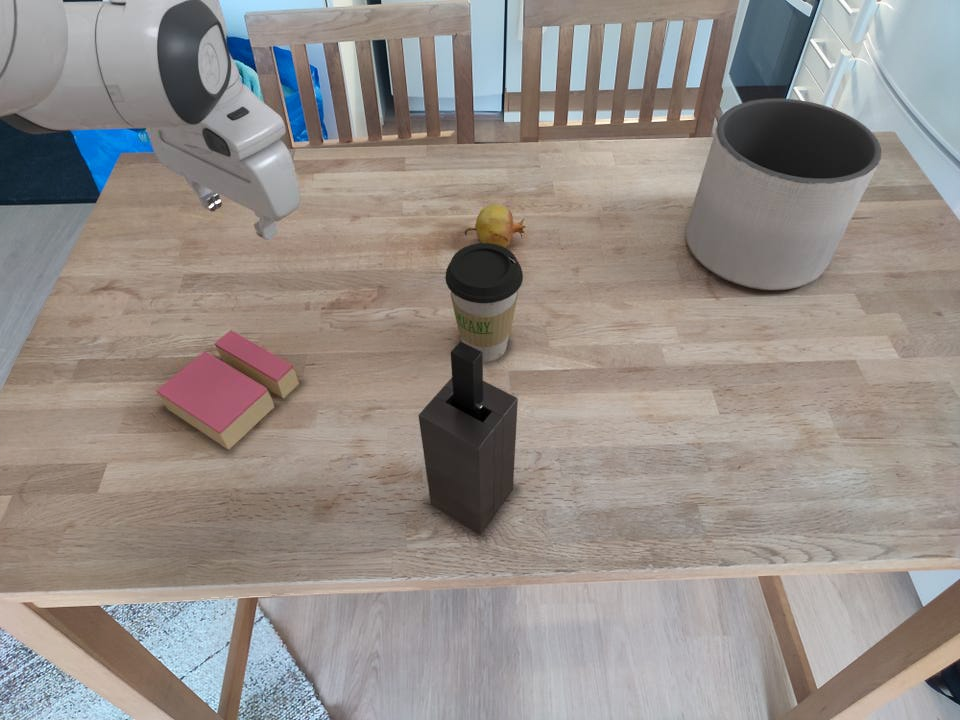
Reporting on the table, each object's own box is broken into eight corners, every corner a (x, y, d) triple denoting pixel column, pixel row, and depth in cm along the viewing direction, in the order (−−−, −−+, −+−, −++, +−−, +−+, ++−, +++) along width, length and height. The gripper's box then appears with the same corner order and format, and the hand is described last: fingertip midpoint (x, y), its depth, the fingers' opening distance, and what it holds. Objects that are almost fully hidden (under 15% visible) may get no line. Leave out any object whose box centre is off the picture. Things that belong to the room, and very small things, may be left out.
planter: (690, 291, 100) (726, 178, 85) (677, 204, 114) (706, 93, 99) (841, 301, 98) (906, 187, 83) (809, 211, 112) (859, 99, 97)
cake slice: (283, 398, 87) (276, 379, 84) (223, 362, 92) (214, 343, 89) (299, 383, 89) (292, 364, 86) (239, 349, 93) (230, 329, 90)
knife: (479, 505, 76) (475, 364, 57) (457, 492, 77) (447, 350, 58) (486, 494, 77) (485, 353, 58) (465, 482, 78) (457, 339, 59)
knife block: (480, 536, 74) (478, 448, 61) (430, 505, 77) (418, 415, 63) (513, 490, 78) (518, 398, 64) (464, 462, 81) (459, 368, 67)
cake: (228, 450, 82) (218, 431, 79) (167, 409, 86) (155, 390, 83) (274, 406, 86) (267, 388, 83) (214, 370, 91) (204, 350, 88)
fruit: (461, 229, 101) (527, 230, 100) (464, 194, 104) (527, 194, 104) (464, 256, 107) (526, 256, 107) (466, 222, 110) (526, 222, 110)
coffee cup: (443, 327, 96) (437, 246, 84) (508, 315, 97) (511, 234, 86) (458, 378, 89) (453, 298, 78) (527, 364, 91) (533, 284, 79)
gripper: (112, 92, 69) (160, 204, 79) (246, 152, 61) (280, 267, 71) (163, 69, 72) (203, 179, 82) (295, 123, 64) (321, 238, 74)
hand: (239, 221), depth 77 cm, fingers open, 8 cm apart
